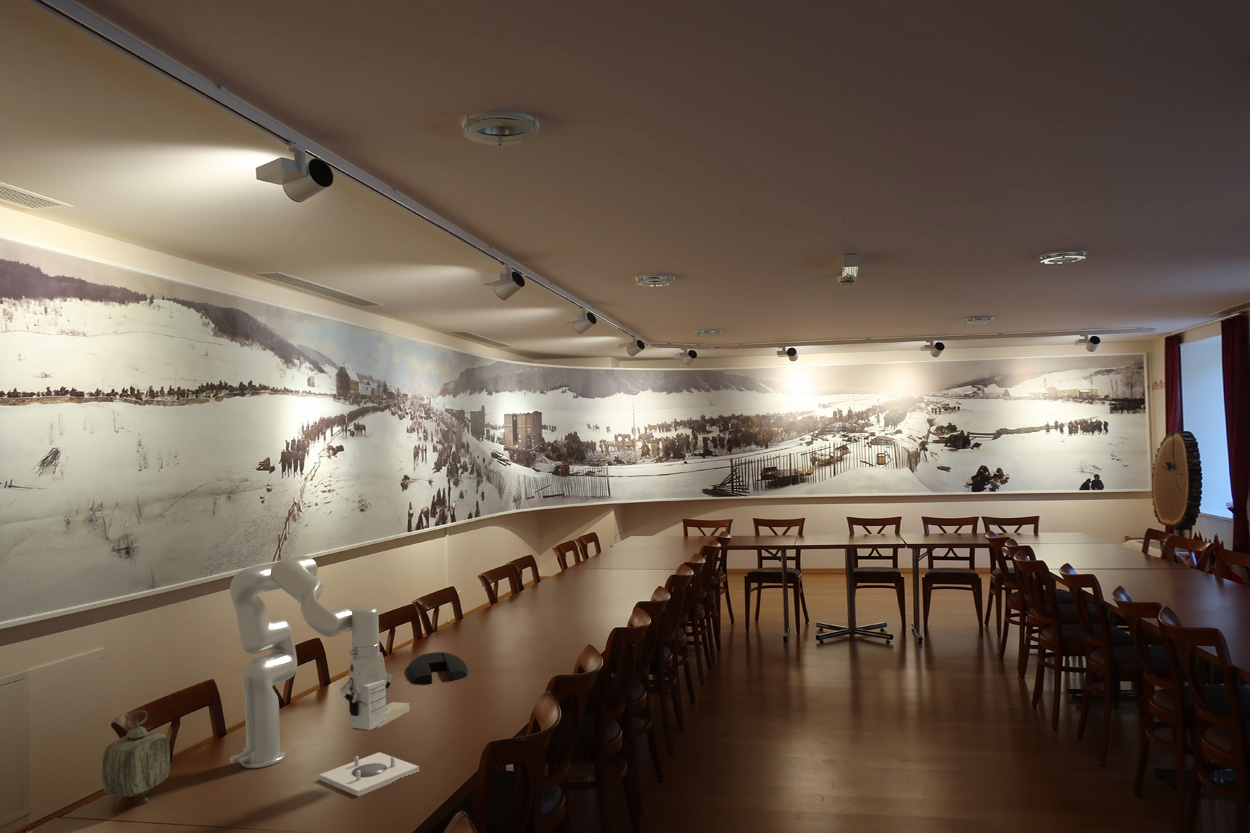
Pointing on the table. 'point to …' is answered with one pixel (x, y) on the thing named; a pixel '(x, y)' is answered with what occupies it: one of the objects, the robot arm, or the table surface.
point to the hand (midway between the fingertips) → (368, 710)
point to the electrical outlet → (395, 711)
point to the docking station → (436, 667)
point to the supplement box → (370, 706)
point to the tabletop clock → (135, 762)
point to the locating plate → (368, 773)
